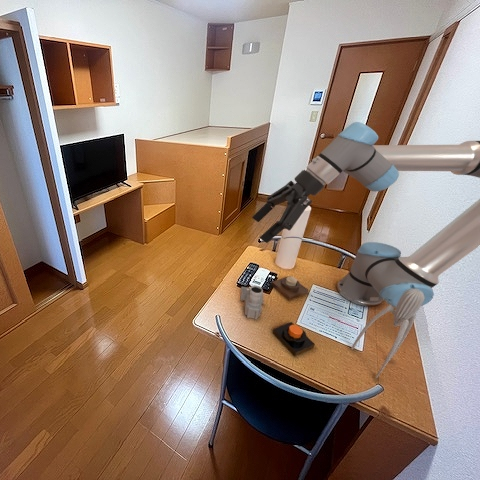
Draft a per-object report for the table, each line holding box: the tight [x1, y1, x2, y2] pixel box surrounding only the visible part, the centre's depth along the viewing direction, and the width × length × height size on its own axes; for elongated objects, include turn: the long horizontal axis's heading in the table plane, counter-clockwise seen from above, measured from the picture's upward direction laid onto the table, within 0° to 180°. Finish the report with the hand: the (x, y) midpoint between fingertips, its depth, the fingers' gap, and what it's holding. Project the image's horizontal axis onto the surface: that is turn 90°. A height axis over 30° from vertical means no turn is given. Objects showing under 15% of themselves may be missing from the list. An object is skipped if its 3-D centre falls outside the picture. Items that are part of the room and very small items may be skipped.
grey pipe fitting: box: [239, 284, 264, 320], centre depth 100 cm, size 9×12×15 cm
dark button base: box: [272, 321, 316, 357], centre depth 88 cm, size 8×10×4 cm
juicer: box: [350, 289, 425, 380], centre depth 73 cm, size 10×9×30 cm
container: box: [274, 205, 312, 270], centre depth 118 cm, size 9×9×30 cm
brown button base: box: [270, 275, 309, 302], centre depth 109 cm, size 10×10×4 cm
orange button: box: [288, 324, 304, 338], centre depth 86 cm, size 4×4×2 cm
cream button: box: [286, 275, 298, 286], centre depth 108 cm, size 4×4×2 cm
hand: (258, 229), depth 83 cm, fingers open, 13 cm apart
